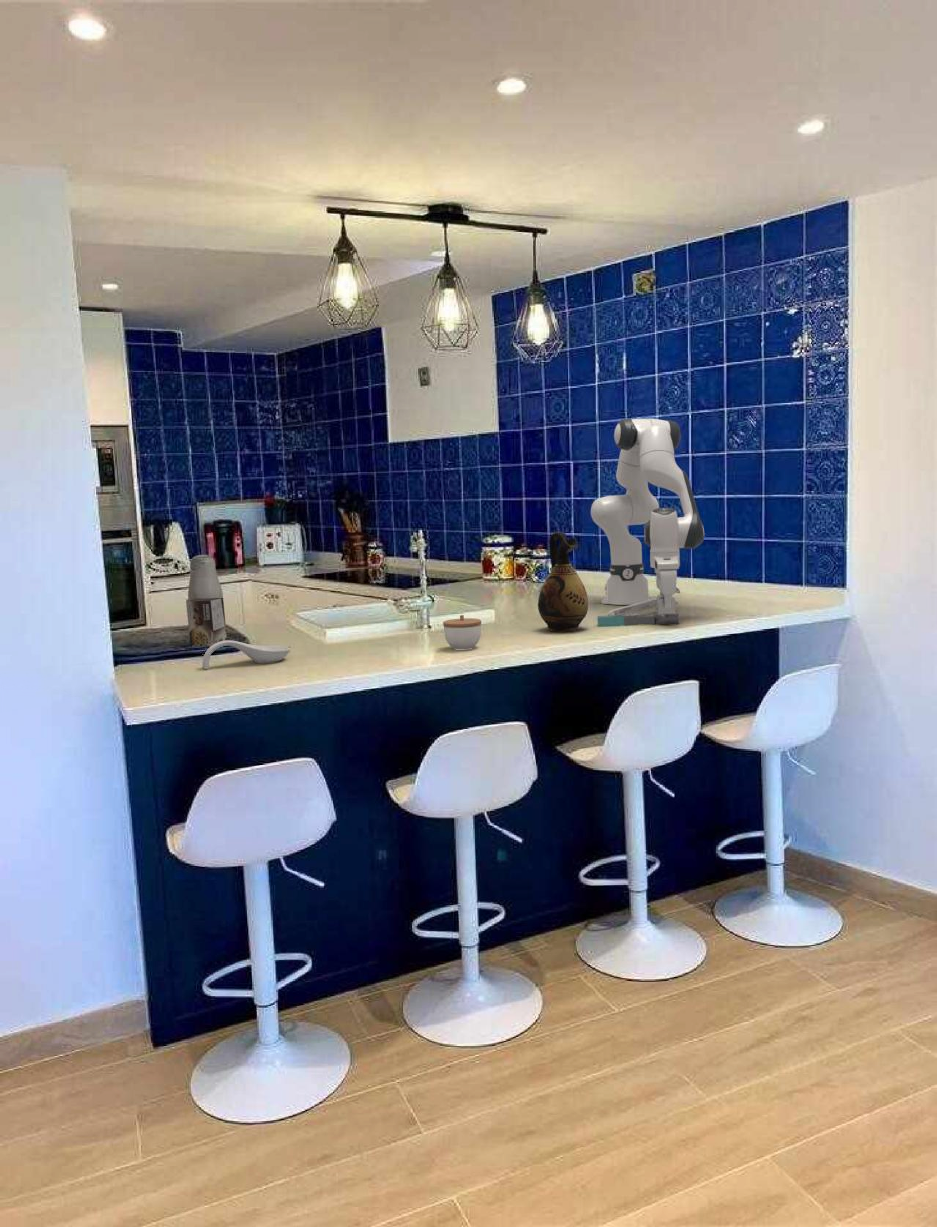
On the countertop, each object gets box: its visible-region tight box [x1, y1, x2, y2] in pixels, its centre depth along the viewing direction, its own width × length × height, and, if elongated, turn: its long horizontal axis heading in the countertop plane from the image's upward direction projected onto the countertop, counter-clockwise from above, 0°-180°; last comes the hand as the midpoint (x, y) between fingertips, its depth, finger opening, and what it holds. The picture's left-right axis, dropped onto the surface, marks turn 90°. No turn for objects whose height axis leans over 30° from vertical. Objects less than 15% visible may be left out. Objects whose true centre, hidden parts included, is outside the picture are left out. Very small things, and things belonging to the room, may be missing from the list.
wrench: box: [607, 587, 681, 616], centre depth 318 cm, size 8×2×30 cm
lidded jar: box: [442, 614, 482, 650], centre depth 270 cm, size 11×11×9 cm
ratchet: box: [596, 611, 680, 627], centre depth 297 cm, size 8×25×6 cm, turn 85°
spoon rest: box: [201, 639, 291, 671], centre depth 262 cm, size 24×12×7 cm, turn 116°
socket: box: [655, 595, 676, 615], centre depth 296 cm, size 5×5×5 cm
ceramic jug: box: [537, 531, 589, 633], centre depth 293 cm, size 17×15×30 cm
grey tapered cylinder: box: [187, 554, 224, 601], centre depth 300 cm, size 10×10×28 cm
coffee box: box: [185, 597, 228, 646], centre depth 283 cm, size 9×6×16 cm
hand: (665, 605), depth 296 cm, fingers open, 8 cm apart
